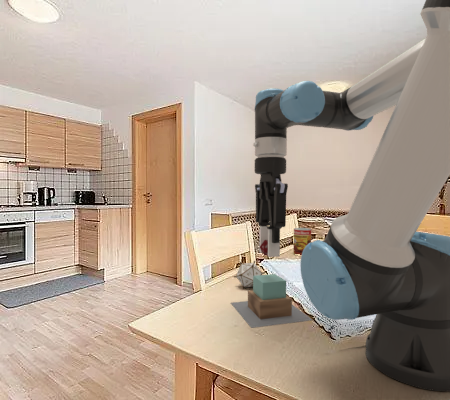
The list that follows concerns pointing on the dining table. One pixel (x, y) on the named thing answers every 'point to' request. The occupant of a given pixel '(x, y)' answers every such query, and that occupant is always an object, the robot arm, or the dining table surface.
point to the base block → (269, 306)
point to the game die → (247, 274)
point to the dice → (264, 247)
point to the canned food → (301, 239)
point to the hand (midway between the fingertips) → (269, 254)
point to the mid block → (269, 286)
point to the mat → (256, 322)
